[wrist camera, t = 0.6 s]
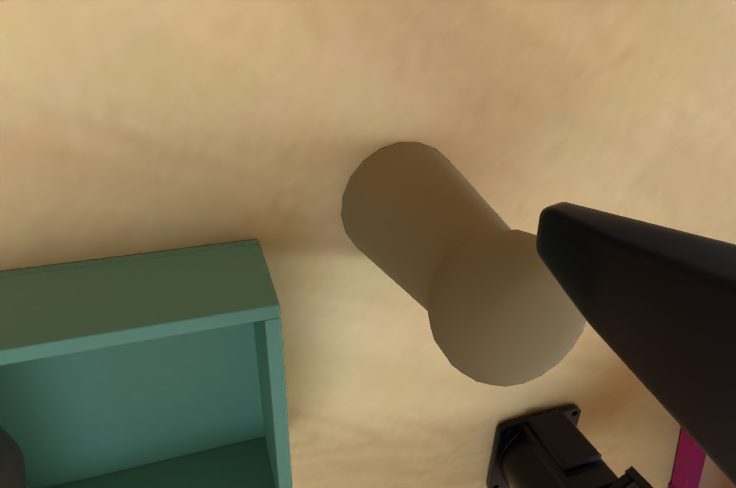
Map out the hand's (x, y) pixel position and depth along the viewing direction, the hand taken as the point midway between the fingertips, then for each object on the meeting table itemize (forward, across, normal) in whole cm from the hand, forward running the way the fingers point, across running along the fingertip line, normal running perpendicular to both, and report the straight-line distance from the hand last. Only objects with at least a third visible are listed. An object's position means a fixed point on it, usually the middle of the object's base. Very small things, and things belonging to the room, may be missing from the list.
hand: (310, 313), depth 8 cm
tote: (+13, +6, +13) cm, 19 cm away
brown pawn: (+13, -8, +8) cm, 17 cm away
